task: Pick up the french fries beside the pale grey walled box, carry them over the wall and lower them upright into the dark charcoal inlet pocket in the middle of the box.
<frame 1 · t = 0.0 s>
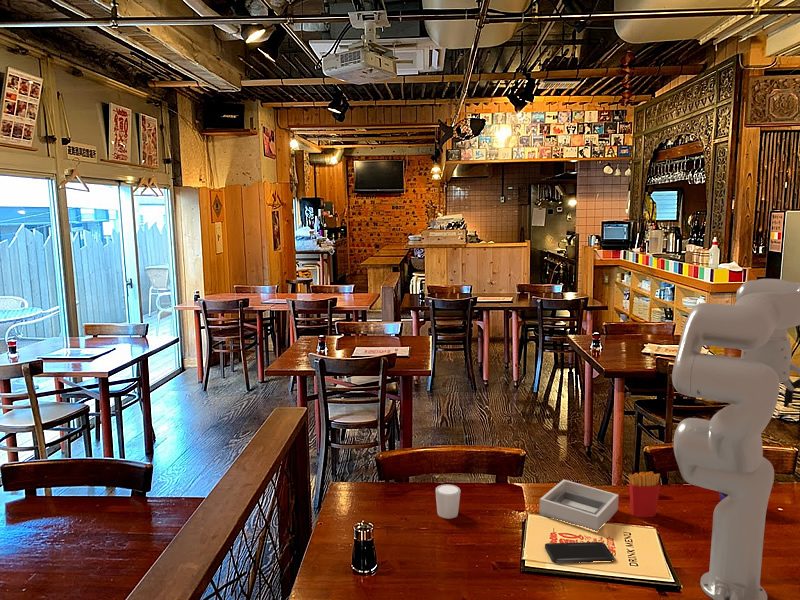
hand: (762, 401, 142), 37 cm above the table, tool pointing down, fingers open, 9 cm apart
potion bottle: (730, 505, 169), on the table
walled box: (578, 512, 164), on the table
french fries: (642, 514, 163), on the table
phone: (578, 555, 144), on the table
shot glass: (447, 514, 164), on the table
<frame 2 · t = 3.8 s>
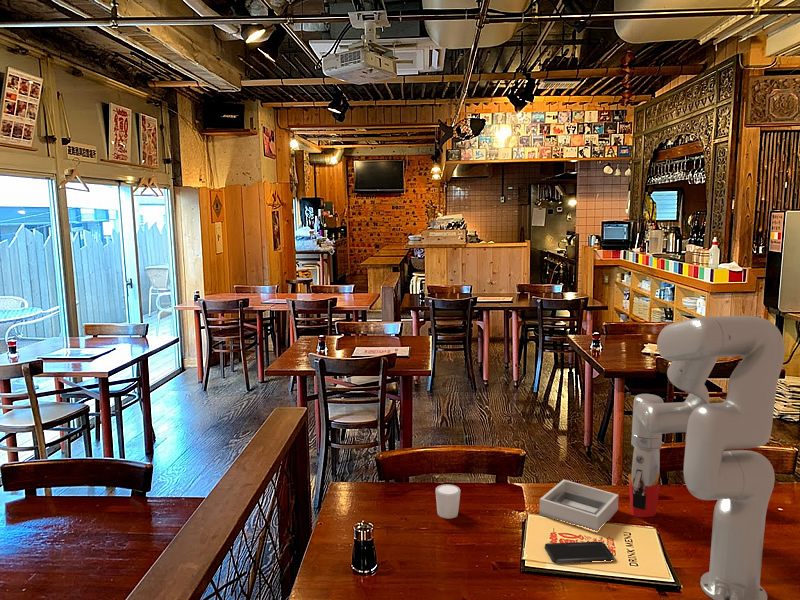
hand: (642, 502, 163), 3 cm above the table, tool pointing down, fingers closed on french fries, 5 cm apart
french fries: (642, 514, 163), on the table, touching gripper
everything else where it was.
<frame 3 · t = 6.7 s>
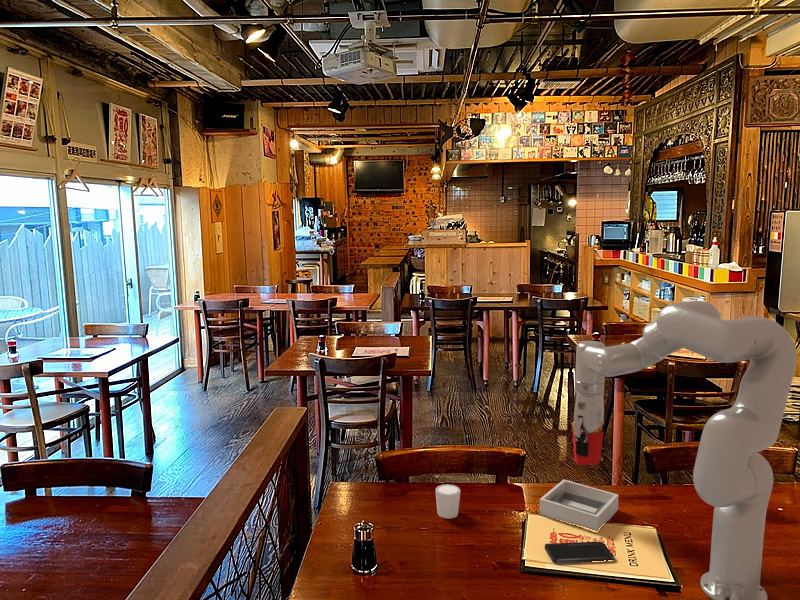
hand: (586, 451, 162), 18 cm above the table, tool pointing down, fingers closed on french fries, 5 cm apart
french fries: (586, 462, 162), point 14 cm above the table, touching gripper
everything else where it was.
when the fingers open (5 cm above the table, at t = 9.6 s): french fries drops 1 cm, resting on walled box.
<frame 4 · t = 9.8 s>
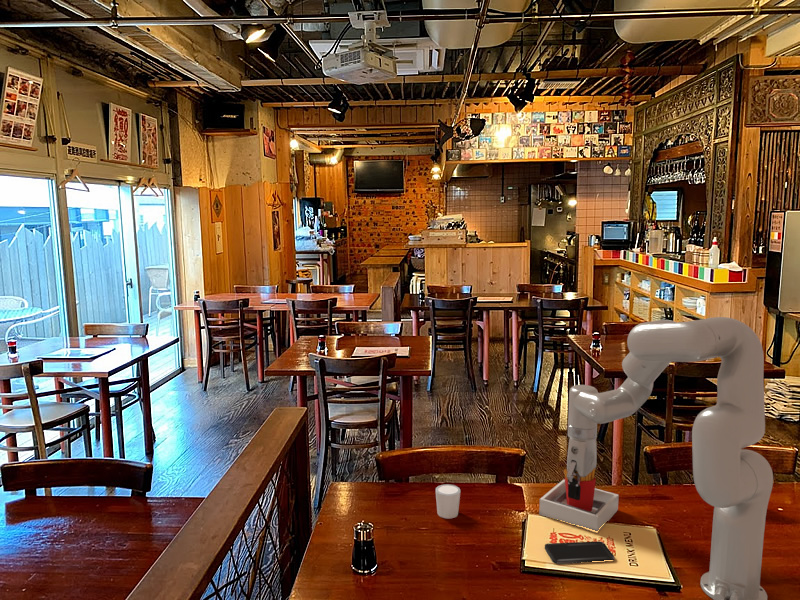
hand: (579, 492, 163), 6 cm above the table, tool pointing down, fingers open, 7 cm apart
french fries: (578, 510, 164), point 1 cm above the table, touching walled box
everything else where it was.
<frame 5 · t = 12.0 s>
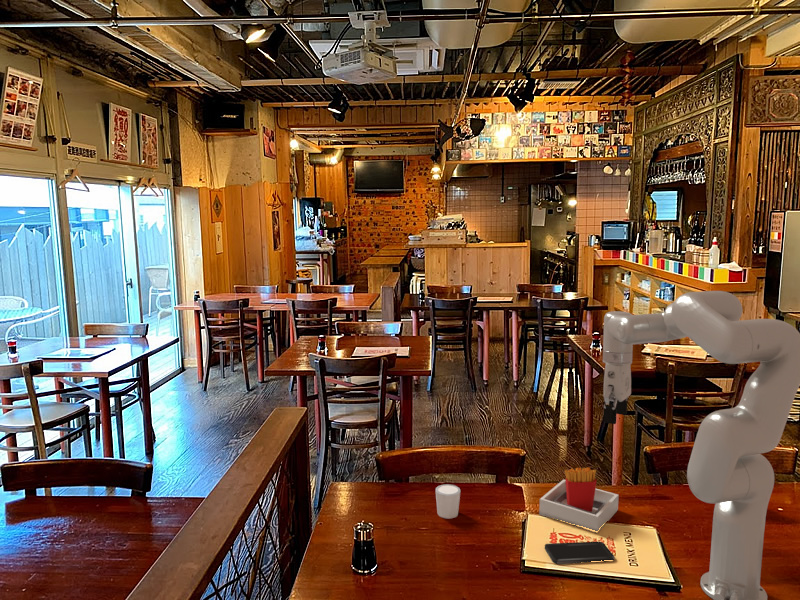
hand: (615, 418, 163), 26 cm above the table, tool pointing down, fingers open, 9 cm apart
nothing on the table moved.
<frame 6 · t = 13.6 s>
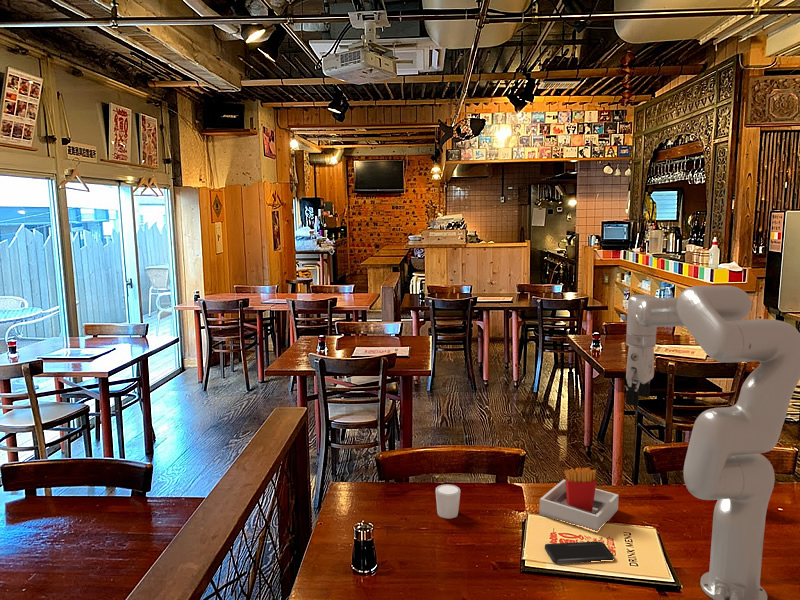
hand: (637, 400, 165), 30 cm above the table, tool pointing down, fingers open, 9 cm apart
nothing on the table moved.
at the end: french fries inside the target area on the walled box (0.5 cm from its centre), point 0.8 cm above the walled box's base; french fries tilted 0°; the gripper is holding nothing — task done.
